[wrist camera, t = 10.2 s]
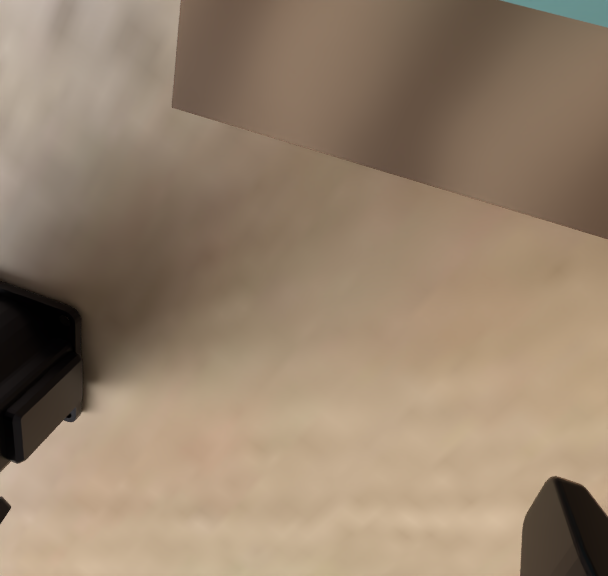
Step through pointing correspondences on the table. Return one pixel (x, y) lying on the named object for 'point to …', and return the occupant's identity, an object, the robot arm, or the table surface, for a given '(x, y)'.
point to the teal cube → (571, 9)
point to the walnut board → (415, 92)
